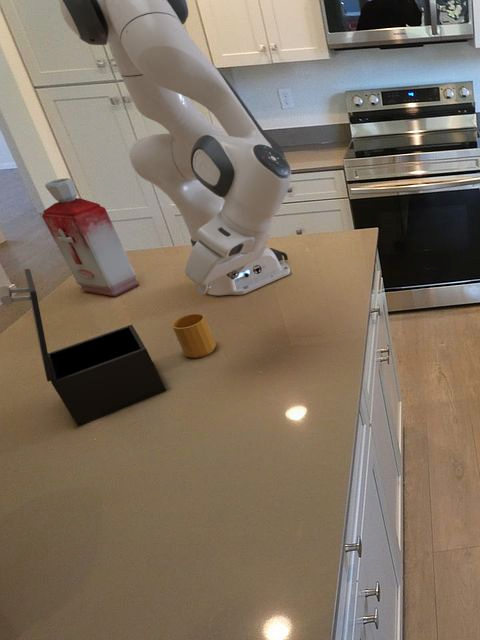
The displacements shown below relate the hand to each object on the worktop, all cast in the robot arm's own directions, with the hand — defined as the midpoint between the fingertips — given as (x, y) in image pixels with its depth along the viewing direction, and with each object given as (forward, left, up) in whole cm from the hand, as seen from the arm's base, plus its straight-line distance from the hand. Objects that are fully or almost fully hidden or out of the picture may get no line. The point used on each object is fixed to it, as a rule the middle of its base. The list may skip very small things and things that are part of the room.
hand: (217, 284), depth 114 cm
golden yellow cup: (+7, -8, -16) cm, 19 cm away
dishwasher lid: (+29, -4, +2) cm, 30 cm away
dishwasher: (+24, -4, -16) cm, 29 cm away
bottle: (+16, -65, -16) cm, 68 cm away
